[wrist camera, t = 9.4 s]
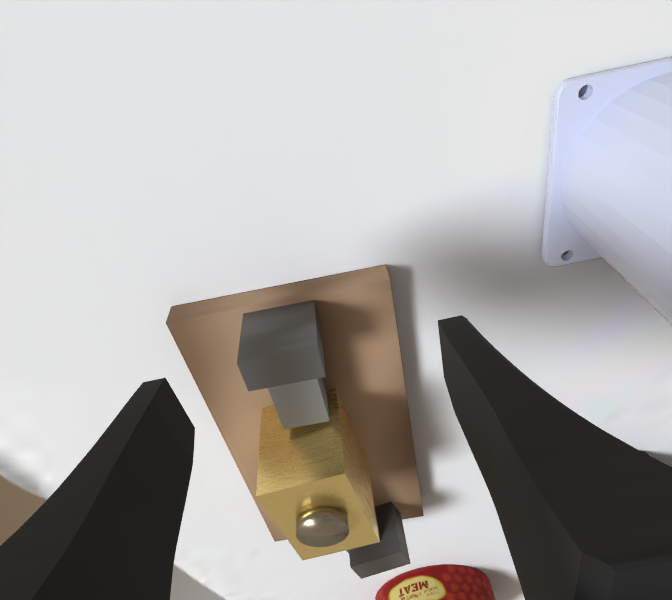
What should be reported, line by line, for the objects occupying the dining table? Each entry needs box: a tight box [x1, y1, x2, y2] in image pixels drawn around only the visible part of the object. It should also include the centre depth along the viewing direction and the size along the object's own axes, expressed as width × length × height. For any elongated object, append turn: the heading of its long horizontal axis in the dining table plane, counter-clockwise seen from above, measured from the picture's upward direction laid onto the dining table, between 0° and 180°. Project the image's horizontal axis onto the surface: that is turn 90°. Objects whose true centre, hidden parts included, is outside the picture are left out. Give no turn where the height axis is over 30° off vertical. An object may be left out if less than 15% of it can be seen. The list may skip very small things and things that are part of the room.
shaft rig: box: [166, 265, 423, 579], centre depth 26 cm, size 10×19×4 cm, turn 10°
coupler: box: [256, 388, 380, 560], centre depth 24 cm, size 6×4×6 cm, turn 17°
